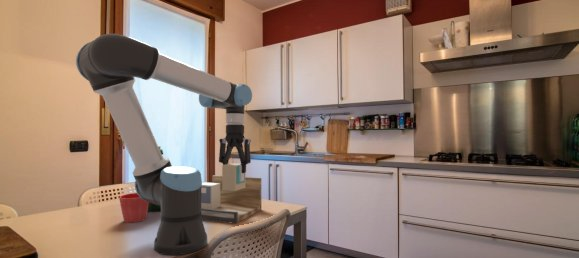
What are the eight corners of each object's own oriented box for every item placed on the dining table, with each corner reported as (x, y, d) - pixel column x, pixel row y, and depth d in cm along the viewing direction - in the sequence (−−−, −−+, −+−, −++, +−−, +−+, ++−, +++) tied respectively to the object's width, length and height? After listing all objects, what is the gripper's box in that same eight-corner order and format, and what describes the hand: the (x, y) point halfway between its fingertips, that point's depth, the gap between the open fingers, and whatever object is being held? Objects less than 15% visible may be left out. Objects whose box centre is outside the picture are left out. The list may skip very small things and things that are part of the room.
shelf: (236, 223, 113) (235, 186, 113) (182, 216, 122) (182, 182, 122) (261, 209, 133) (261, 178, 133) (213, 204, 142) (213, 175, 142)
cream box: (211, 209, 125) (211, 185, 125) (195, 208, 128) (195, 184, 128) (220, 206, 131) (220, 183, 131) (205, 204, 134) (205, 182, 134)
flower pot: (112, 221, 116) (113, 196, 116) (138, 214, 126) (138, 191, 126) (130, 225, 111) (130, 199, 111) (155, 218, 121) (156, 193, 121)
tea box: (235, 191, 118) (235, 165, 119) (222, 189, 121) (222, 165, 121) (245, 187, 126) (246, 163, 126) (232, 186, 128) (233, 163, 129)
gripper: (260, 124, 124) (259, 180, 123) (220, 124, 131) (219, 177, 130) (251, 123, 117) (250, 183, 116) (210, 124, 124) (209, 180, 123)
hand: (234, 180), depth 123 cm, fingers closed on tea box, 6 cm apart
